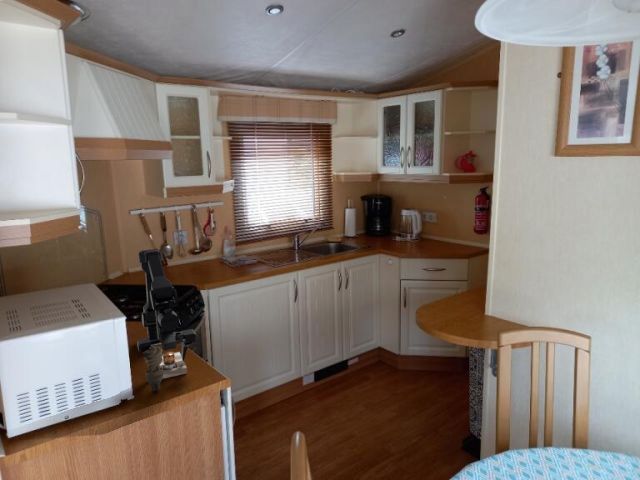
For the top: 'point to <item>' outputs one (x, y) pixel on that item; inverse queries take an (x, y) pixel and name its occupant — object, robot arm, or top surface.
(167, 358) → the brown round tapered piece
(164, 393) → the top surface
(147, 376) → the grey stone figurine
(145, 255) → the robot arm
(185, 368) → the white block
